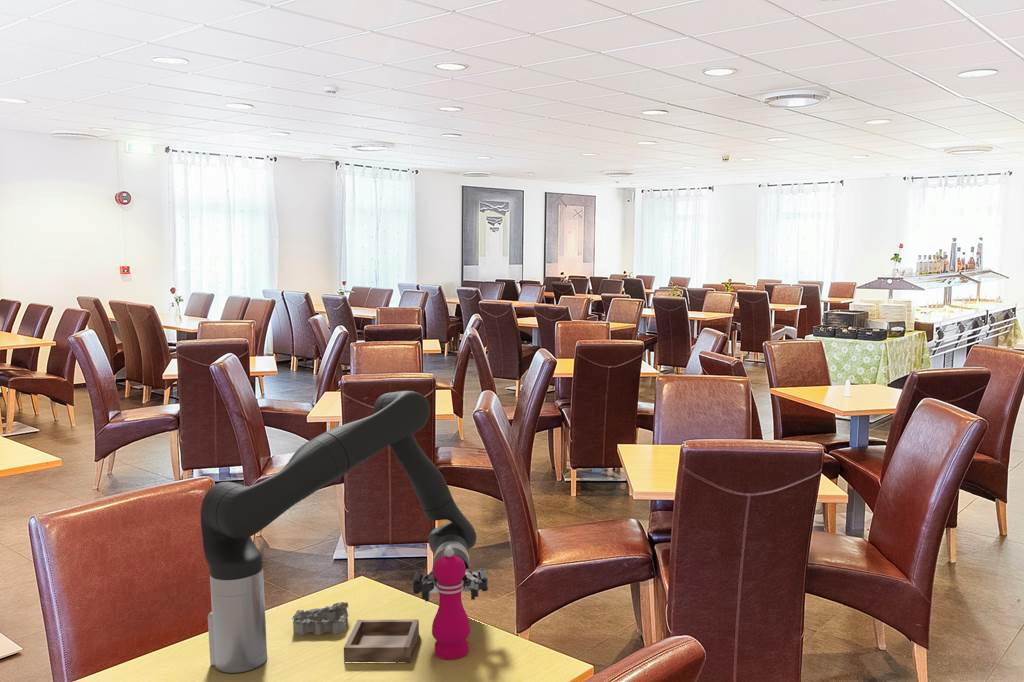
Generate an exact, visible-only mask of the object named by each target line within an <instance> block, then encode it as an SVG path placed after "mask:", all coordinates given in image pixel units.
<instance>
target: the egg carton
mask: <svg viewBox="0 0 1024 682" xmlns="http://www.w3.org/2000/svg"><path fill="white" fill-rule="evenodd" d="M348 608H349V603H348V601H347V602H343V601H342V602H336V603H333V604H332V606H325V607H321V608H317V607H316V608H312V609H307V610H304V609H297V610H296V611H295V614H294V615H292V618H291V619H292V620H293V621H292V627H293V628H292V630H293V633H294V634H297V635H298V636H304V635H306V634H307V633H314V634H315V635H321V634H323V633H327V632H329V633H332V634H333V635H337V634H336V633H338V634H339V633H341V632H344V630H346V629H345V628H346V624H345V623H347V622H348V623H349V613H348ZM338 619H339V620H338ZM348 623H347V624H348ZM340 631H341V632H340Z"/></svg>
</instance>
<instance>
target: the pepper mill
mask: <svg viewBox="0 0 1024 682" xmlns="http://www.w3.org/2000/svg"><path fill="white" fill-rule="evenodd" d="M444 554H445V555H444V556H442V557H440V558H439V559H438V560H437V561H436V562H435V564H434V568H433V573H434V576H435V578H436V579H437V580H438V581H437V583H436V585H437V591H438V592H437V593H438V595H439V604H438V608H437V612H436V614H435V616H434V617H433V621H432V626H431V635H432V637H433V638H434V640H436V641H435V642H434V653H435V655H436V656H437V657H438V658H440V659H445V660H457V659H461V658H463V657H465V656H466V655H467V654H468V653H469V647H470V646H469V641H468V637H469V635H470V634H471V621H470V619H469V616H468V614H467V612H466V610H465V608H464V604H463V601H462V591H463V588H464V586H463V580H462V578H463V577H464V576H465V572H466V567H465V563H464V561H463V560H462V559H461V558H460V557H458V556H456V555H453V554H454V551H453V549H452V548H446V549H445V551H444Z"/></svg>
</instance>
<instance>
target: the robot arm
mask: <svg viewBox="0 0 1024 682" xmlns="http://www.w3.org/2000/svg"><path fill="white" fill-rule="evenodd" d="M372 411H373V414H371V415H369V416H367V417H364V418H361V419H358V420H353V421H351V422H348V423H345V424H342V425H339V426H336V427H334V428H330V429H329V430H326V431H324V432H322V433H320V434H318V435H317V436H316V437H314V438H311V439H310V440H308V441H307V442H305V443H304V444H303V445H301V446H300V447H298V449H297V450H295V452H294V454H292V456H291V457H290V459H289V460H288V462H287V463H286V464H285V466H283V468H282V469H281V470H279V471H278V472H277V473H275V474H273V475H271V476H270V477H268V478H266V479H264V480H262V481H260V482H257V483H254V484H252V485H250V486H249V485H243V484H240V483H237V482H233V481H222V482H219V483H216V484H214V485H212V487H210V488H209V489H208V490H207V492H206V493H205V494H204V496H203V499H202V502H201V506H200V527H201V529H200V530H201V539H202V547H203V549H202V550H203V555H204V557H205V560H206V563H207V565H208V569H209V582H210V598H211V599H210V602H211V611H210V612H209V613H208V615H207V627H208V628H207V629H208V645H209V646H208V647H209V664H210V665H211V666H214V668H215V669H216V670H217V671H220V672H222V673H227V674H228V673H230V674H235V673H242V672H243V673H244V672H249V671H251V670H254V669H257V668H259V667H260V666H262V665H263V664H264V663H265V662H267V659H268V645H267V625H266V624H267V623H266V621H267V620H266V606H265V605H266V603H265V584H264V563H263V555H262V552H261V551H260V550H259V548H258V547H257V546H256V544H255V543H254V541H253V539H252V536H255V535H256V534H258V533H259V532H261V531H263V529H265V528H266V527H268V526H269V525H270V524H271V523H272V522H274V521H275V520H276V519H278V518H279V517H280V516H281V515H283V514H284V513H285V512H286V511H288V510H289V509H290V508H292V507H293V506H295V505H296V504H298V503H300V502H301V501H302V500H304V499H306V498H308V497H310V496H311V495H313V494H314V493H316V492H317V491H319V490H321V489H322V488H324V487H325V486H327V485H329V484H331V483H333V482H335V481H336V480H337V479H340V478H341V477H342V476H345V474H347V473H349V472H350V471H352V470H353V469H355V468H356V467H358V466H359V465H360V464H362V463H365V461H367V460H368V459H370V458H372V457H373V456H375V455H376V454H378V452H380V451H382V450H383V449H385V448H387V447H388V446H390V448H391V450H392V452H393V454H394V455H395V456H396V458H397V460H398V462H399V463H400V465H401V467H402V469H403V470H404V472H405V473H406V475H407V478H408V480H409V481H410V484H411V486H412V487H413V490H414V493H415V494H416V497H417V499H418V501H419V504H420V507H421V508H422V511H423V513H424V516H425V517H426V519H427V520H429V521H432V522H433V521H435V522H436V521H437V522H438V521H444V520H445V521H446V520H447V521H449V522H447V523H446V524H443V525H440V526H437V527H436V528H435V527H434V529H432V530H431V531H430V533H429V534H428V545H429V548H430V551H431V552H432V554H433V559H432V570H431V571H430V572H429V574H428V573H426V574H425V573H424V572H423V570H416V571H415V573H414V576H413V579H412V592H413V594H414V595H419V594H420V593H421V599H422V600H424V602H430V596H431V595H430V594H436V593H439V592H438V591H437V585H436V583H437V581H438V580H437V579H436V578H435V576H434V573H433V568H434V564H435V562H436V561H437V560H438V559H439V558H440V557H442V556H444V555H445V554H444V551H445V549H446V548H452V549H453V551H454V554H453V555H456V556H458V557H460V558H461V559H462V560H463V561H464V563H465V567H466V572H465V576H464V577H463V578H462V580H463V586H464V588H463V590H462V591H464V592H466V593H467V592H470V598H471V599H470V600H471V601H472V600H473V601H474V600H475V599H476V598H478V597H479V594H480V593H479V591H480V590H481V591H482V592H487V591H488V590H489V587H488V574H487V570H486V568H484V567H481V568H479V570H477V571H475V572H473V571H472V570H471V569H470V568H471V567H470V566H471V563H470V555H469V550H470V549H472V548H474V547H475V545H476V542H477V532H476V530H475V527H474V526H473V525H472V523H471V522H470V521H469V520H468V518H467V517H466V516H465V515H464V514H463V513H462V511H461V510H460V509H459V506H458V505H457V504H456V502H455V500H454V497H453V496H452V493H451V491H450V489H449V486H448V484H447V481H446V479H445V477H444V475H443V473H442V472H441V471H440V470H439V468H438V466H436V465H435V463H434V462H433V461H432V460H431V459H430V458H429V457H428V456H427V454H426V453H425V452H424V451H423V449H422V448H421V446H420V445H419V442H417V440H416V438H415V435H414V434H416V433H418V432H419V431H420V430H422V429H423V428H424V427H425V425H427V423H428V421H429V418H430V414H431V406H430V403H429V400H428V399H427V398H426V397H425V396H424V395H423V394H422V393H419V392H417V391H414V390H399V391H393V392H392V391H391V392H387V393H384V394H382V395H380V396H379V397H378V398H377V399H376V400H375V402H374V405H373V410H372Z"/></svg>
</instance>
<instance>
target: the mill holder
mask: <svg viewBox="0 0 1024 682" xmlns="http://www.w3.org/2000/svg"><path fill="white" fill-rule="evenodd" d="M419 622H420V620H419V619H418V618H417V619H416V618H415V619H412V618H411V619H407V618H406V619H405V618H404V619H403V618H402V619H357V620H356V622H355V624H354V626H353V628H352V631H351V632H350V634H349V636H348V638H347V640H346V642H345V644H344V646H343V664H346V663H345V662H396V663H395V664H399V663H398V662H406V663H405V664H408V663H407V662H410V663H411V661H412V658H411V657H413V655H412V654H414V651H415V648H416V645H417V642H418V640H419V636H420V623H419ZM410 660H411V661H410Z"/></svg>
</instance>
